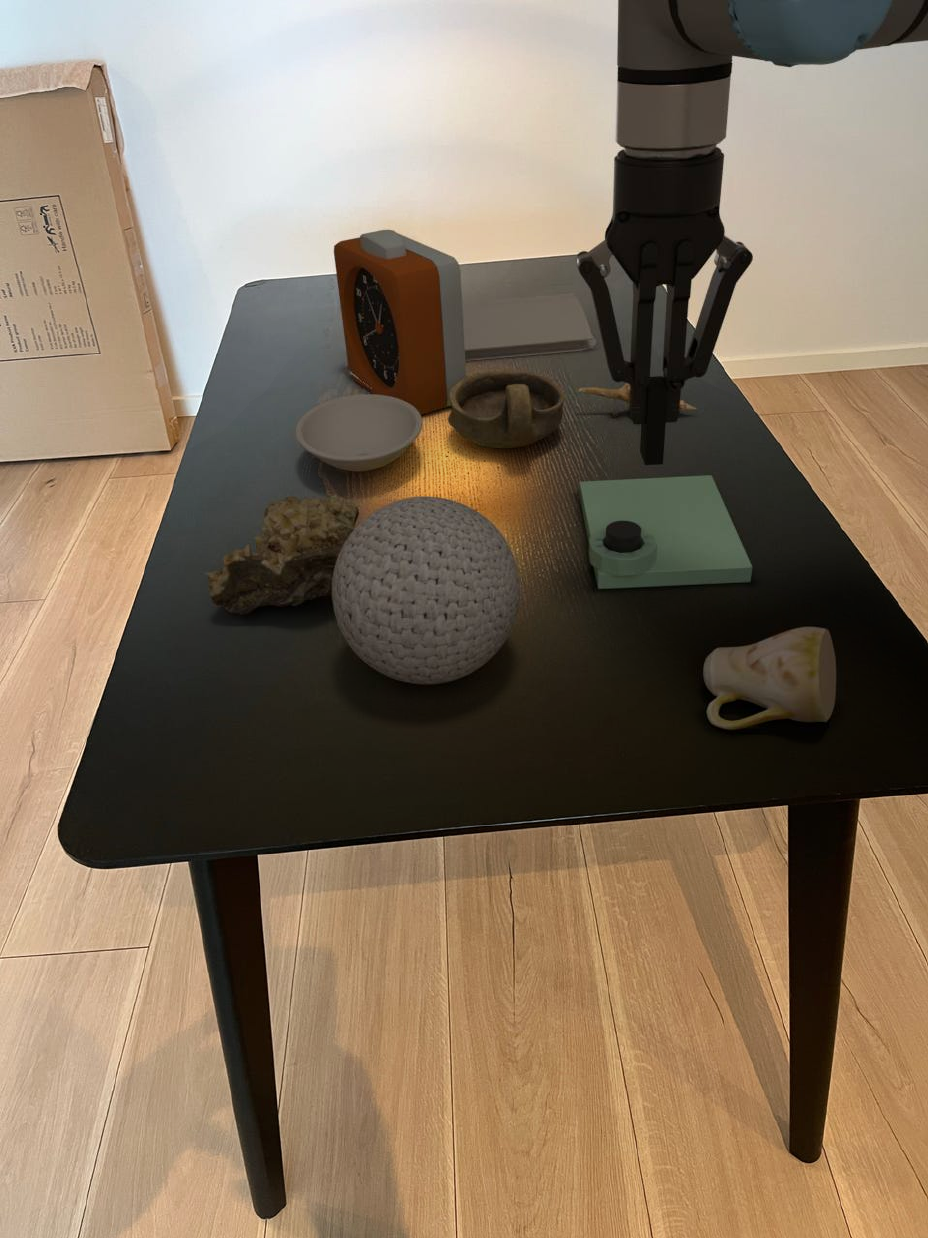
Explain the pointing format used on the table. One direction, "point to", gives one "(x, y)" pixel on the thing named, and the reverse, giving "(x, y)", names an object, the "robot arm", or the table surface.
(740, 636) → the table surface
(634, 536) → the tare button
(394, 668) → the decorative ball
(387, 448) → the dish
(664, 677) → the table surface
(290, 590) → the mineral specimen
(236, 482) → the table surface
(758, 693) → the mug
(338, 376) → the table surface
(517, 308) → the book
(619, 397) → the spiral seashell
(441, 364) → the alarm clock
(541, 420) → the bowl
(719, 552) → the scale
